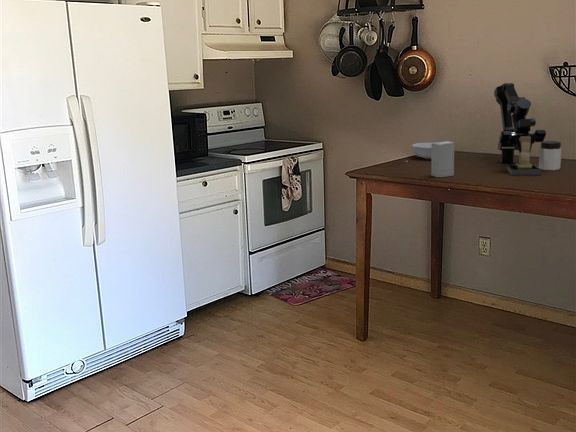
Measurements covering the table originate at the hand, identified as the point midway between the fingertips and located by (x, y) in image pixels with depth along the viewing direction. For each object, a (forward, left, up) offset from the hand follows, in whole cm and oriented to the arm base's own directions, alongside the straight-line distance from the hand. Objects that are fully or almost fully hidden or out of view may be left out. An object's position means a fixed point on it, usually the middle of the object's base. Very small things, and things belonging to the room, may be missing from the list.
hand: (525, 151), depth 276 cm
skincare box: (+4, -35, -10) cm, 37 cm away
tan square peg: (-1, 0, -7) cm, 7 cm away
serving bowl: (-46, -36, -10) cm, 60 cm away
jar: (-11, +13, -10) cm, 20 cm away
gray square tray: (-1, 0, -9) cm, 10 cm away
